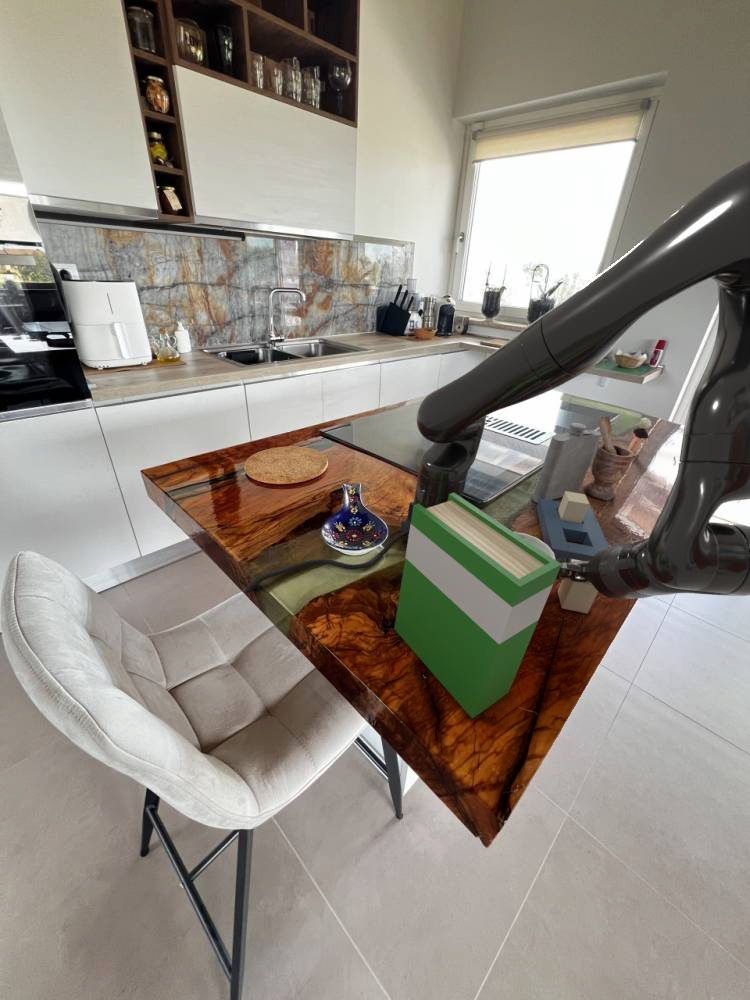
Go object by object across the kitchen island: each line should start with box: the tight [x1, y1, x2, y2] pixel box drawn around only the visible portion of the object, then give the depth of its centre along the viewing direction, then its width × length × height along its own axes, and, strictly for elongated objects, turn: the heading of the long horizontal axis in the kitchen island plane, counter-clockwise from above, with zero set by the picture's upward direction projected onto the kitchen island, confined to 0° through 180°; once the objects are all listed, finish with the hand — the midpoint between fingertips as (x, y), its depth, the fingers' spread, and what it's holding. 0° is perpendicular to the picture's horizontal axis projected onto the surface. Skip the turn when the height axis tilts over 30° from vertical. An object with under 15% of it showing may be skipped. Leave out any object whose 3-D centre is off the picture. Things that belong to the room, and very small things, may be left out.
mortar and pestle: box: [584, 415, 635, 501], centre depth 110 cm, size 12×9×20 cm
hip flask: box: [532, 422, 602, 504], centre depth 106 cm, size 16×4×20 cm, turn 118°
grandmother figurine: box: [627, 417, 652, 457], centre depth 137 cm, size 8×4×13 cm, turn 17°
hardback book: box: [393, 493, 562, 719], centre depth 57 cm, size 18×7×24 cm, turn 34°
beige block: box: [557, 559, 599, 614], centre depth 74 cm, size 4×4×8 cm
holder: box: [536, 498, 610, 561], centre depth 94 cm, size 12×21×3 cm, turn 168°
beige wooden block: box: [558, 491, 590, 523], centre depth 96 cm, size 4×4×8 cm
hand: (583, 578), depth 73 cm, fingers open, 8 cm apart
